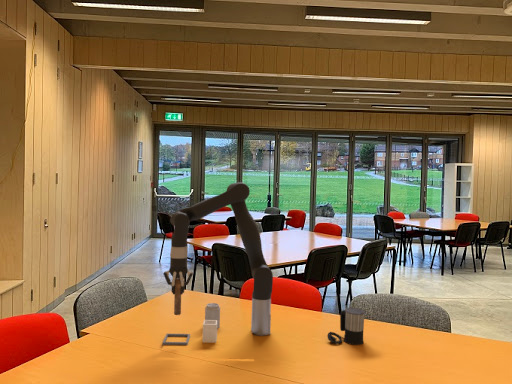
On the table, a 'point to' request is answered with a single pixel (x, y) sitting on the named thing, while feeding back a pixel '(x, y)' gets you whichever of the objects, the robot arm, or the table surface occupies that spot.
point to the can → (213, 313)
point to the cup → (209, 331)
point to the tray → (176, 342)
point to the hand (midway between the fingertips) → (177, 293)
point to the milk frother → (350, 327)
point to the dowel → (177, 297)
